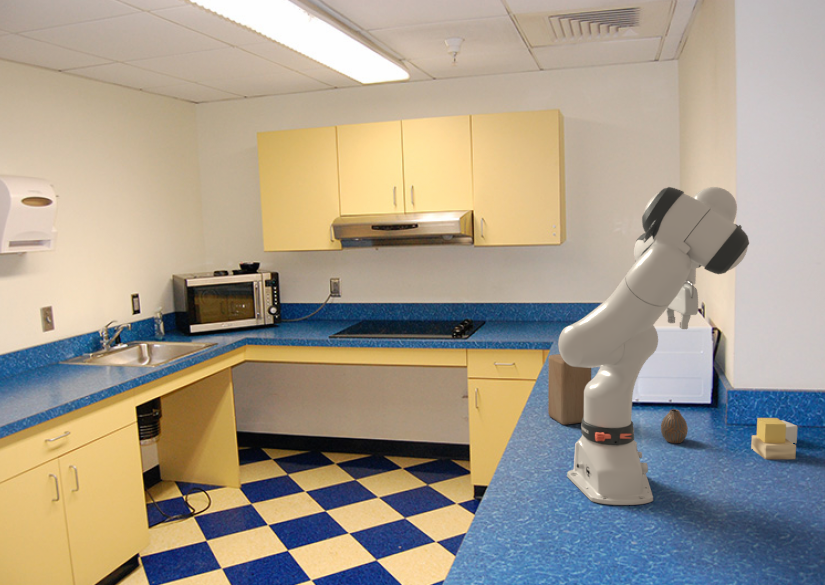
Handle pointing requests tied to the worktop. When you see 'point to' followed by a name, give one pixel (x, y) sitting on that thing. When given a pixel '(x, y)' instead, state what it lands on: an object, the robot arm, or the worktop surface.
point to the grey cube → (791, 432)
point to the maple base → (773, 449)
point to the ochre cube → (771, 430)
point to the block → (566, 390)
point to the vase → (674, 427)
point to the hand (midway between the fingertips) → (677, 325)
